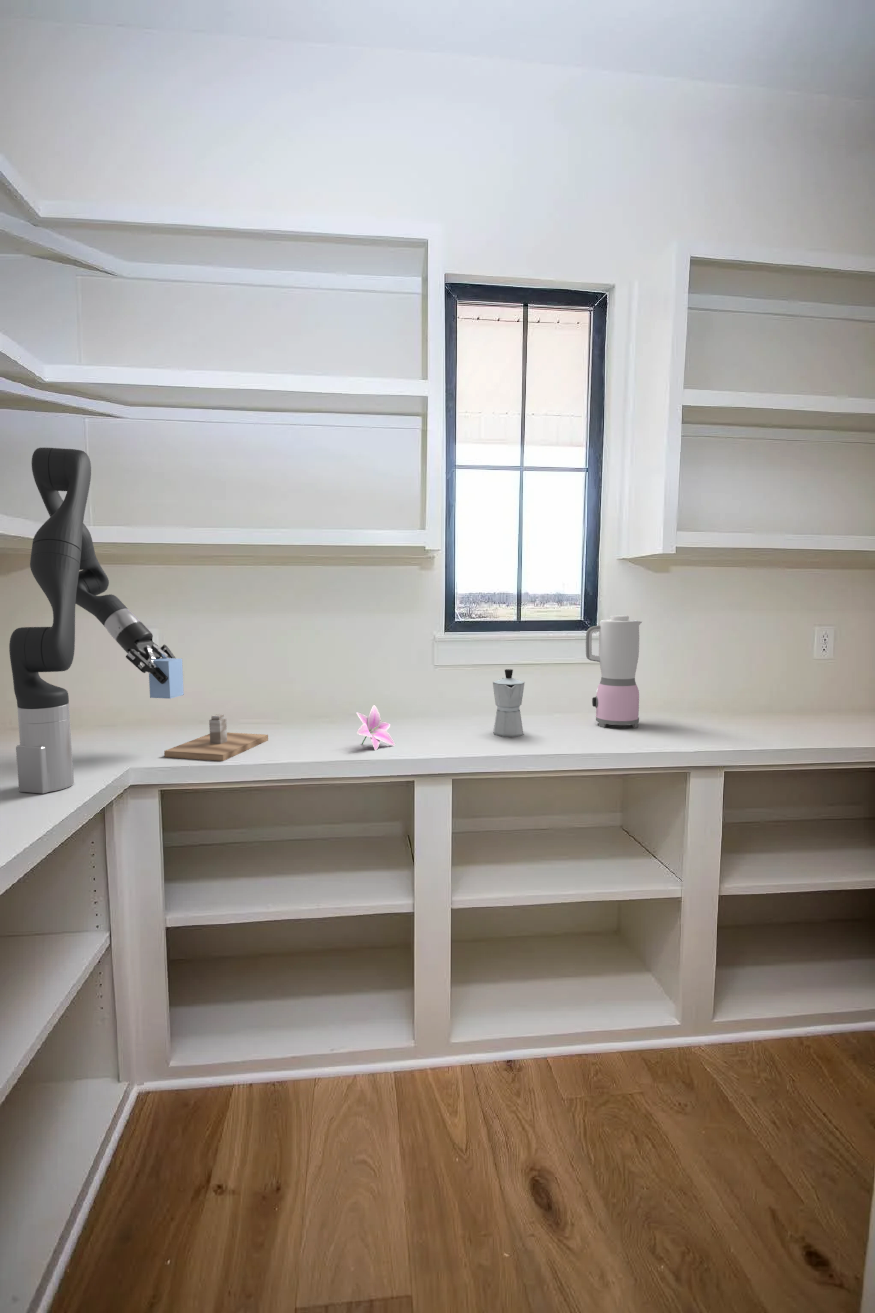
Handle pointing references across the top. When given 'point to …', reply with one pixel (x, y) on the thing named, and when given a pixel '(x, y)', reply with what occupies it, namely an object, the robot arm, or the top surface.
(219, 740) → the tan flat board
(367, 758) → the top surface
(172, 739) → the top surface
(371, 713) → the lily
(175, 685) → the light blue block
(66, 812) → the top surface
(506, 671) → the coffee maker
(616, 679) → the blender
